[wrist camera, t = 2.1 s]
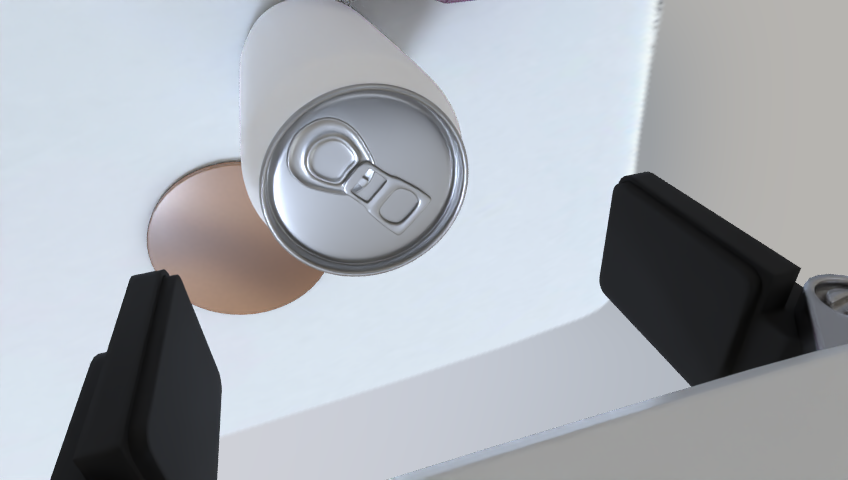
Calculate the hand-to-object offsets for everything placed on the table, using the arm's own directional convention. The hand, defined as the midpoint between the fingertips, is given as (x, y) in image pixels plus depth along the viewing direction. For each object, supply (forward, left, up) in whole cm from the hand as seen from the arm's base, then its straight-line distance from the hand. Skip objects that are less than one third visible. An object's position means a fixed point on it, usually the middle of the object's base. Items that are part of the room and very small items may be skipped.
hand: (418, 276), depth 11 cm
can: (0, 0, -16) cm, 16 cm away
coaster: (+8, -5, -16) cm, 18 cm away
